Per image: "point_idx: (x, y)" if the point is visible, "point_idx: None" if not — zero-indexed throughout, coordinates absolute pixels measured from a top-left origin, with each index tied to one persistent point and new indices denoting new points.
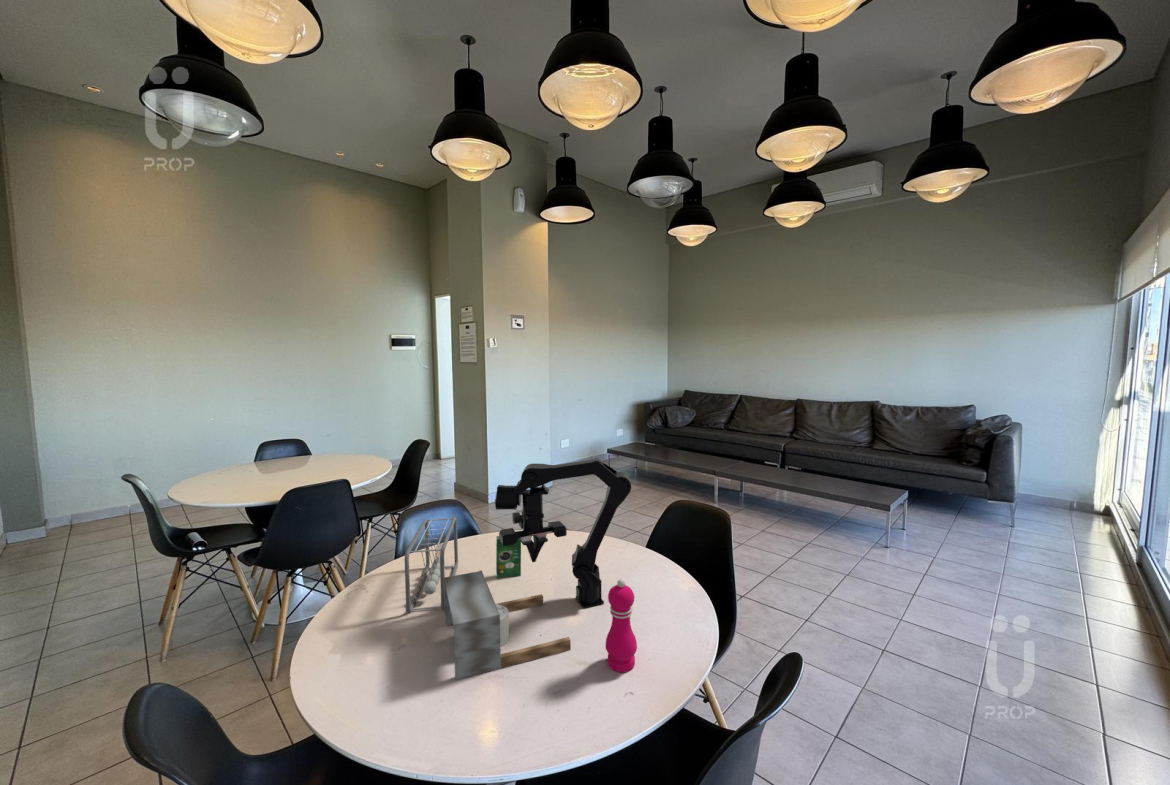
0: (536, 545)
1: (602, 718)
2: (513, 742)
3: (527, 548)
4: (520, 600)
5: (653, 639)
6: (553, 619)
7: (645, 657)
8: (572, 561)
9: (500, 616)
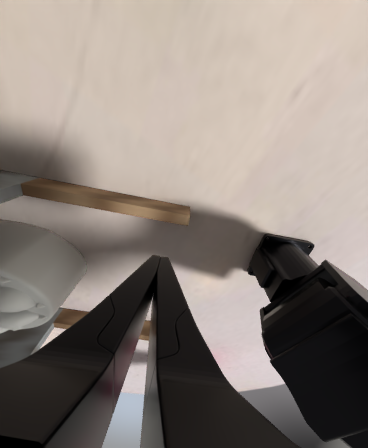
0: (144, 418)
1: (142, 383)
2: None
3: (94, 315)
4: (126, 212)
5: (262, 355)
6: (178, 268)
7: (228, 365)
8: (293, 356)
9: (32, 323)
